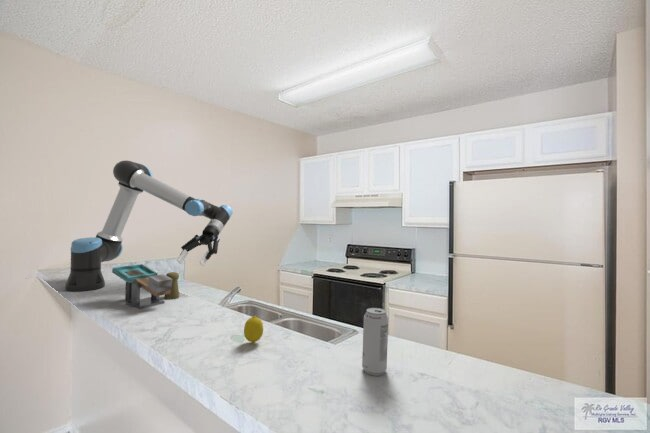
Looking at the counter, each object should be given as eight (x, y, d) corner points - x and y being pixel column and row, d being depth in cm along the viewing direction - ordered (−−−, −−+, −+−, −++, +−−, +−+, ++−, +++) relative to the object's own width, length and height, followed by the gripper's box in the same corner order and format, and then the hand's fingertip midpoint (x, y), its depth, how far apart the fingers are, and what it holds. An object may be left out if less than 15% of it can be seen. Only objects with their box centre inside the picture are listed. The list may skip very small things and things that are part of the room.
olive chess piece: (182, 296, 143) (182, 271, 143) (174, 299, 137) (175, 274, 137) (169, 295, 143) (170, 271, 143) (161, 298, 137) (161, 273, 137)
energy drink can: (367, 363, 83) (369, 305, 83) (389, 369, 80) (391, 309, 80) (358, 372, 78) (360, 311, 78) (381, 379, 75) (383, 315, 75)
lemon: (246, 348, 90) (247, 320, 90) (241, 341, 95) (242, 314, 95) (265, 345, 92) (266, 317, 92) (259, 338, 97) (260, 312, 97)
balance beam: (140, 272, 142) (143, 257, 141) (176, 294, 128) (179, 278, 127) (111, 276, 132) (113, 260, 131) (147, 300, 118) (149, 283, 117)
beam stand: (142, 296, 139) (142, 276, 139) (164, 303, 131) (165, 281, 131) (117, 301, 131) (118, 279, 131) (139, 309, 122) (140, 285, 122)
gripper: (190, 223, 165) (165, 255, 151) (229, 225, 156) (207, 260, 142) (197, 233, 170) (173, 265, 156) (236, 236, 161) (215, 270, 147)
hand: (189, 263), depth 149 cm, fingers open, 13 cm apart
